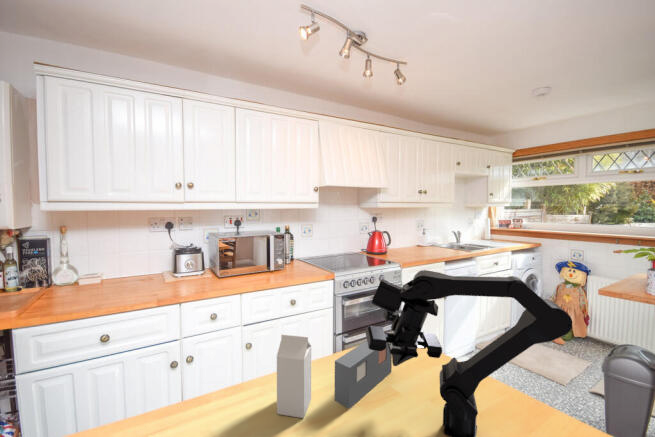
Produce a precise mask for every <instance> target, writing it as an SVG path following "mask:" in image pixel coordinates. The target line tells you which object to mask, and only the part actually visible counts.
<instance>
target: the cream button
mask: <svg viewBox="0 0 655 437" xmlns="http://www.w3.org/2000/svg"><path fill="white" fill-rule="evenodd" d="M365 374H366V361H365V362H363V363H362V364H361V365H359V366H358V367H357V382H358V381H359V380H360V379H362V378H363V377H364V376H365Z"/></svg>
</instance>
